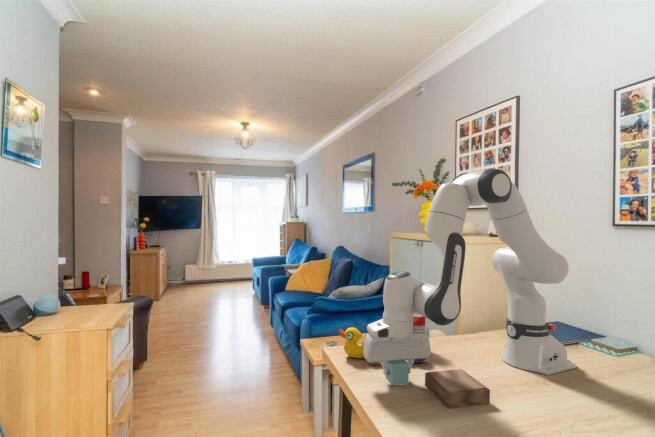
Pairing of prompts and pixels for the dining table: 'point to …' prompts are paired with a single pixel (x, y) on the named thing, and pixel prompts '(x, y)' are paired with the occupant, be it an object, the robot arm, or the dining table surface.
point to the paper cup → (418, 320)
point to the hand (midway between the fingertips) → (396, 373)
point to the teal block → (398, 372)
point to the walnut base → (457, 388)
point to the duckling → (352, 342)
